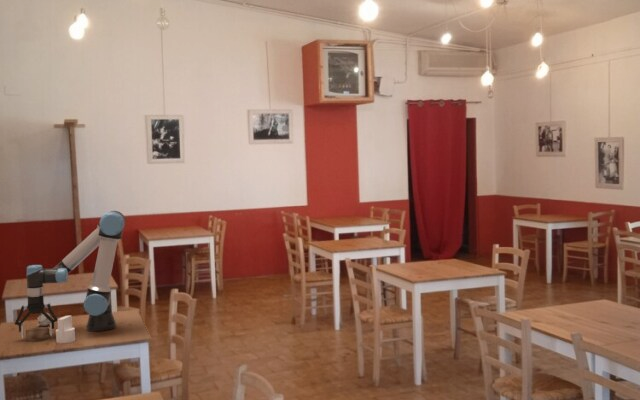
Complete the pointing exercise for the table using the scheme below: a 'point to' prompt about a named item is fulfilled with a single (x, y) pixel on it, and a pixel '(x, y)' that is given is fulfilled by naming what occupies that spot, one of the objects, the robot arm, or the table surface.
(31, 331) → the walnut lid
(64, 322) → the white stepped block
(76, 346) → the table surface
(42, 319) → the game die
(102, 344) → the table surface
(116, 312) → the table surface
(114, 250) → the robot arm
